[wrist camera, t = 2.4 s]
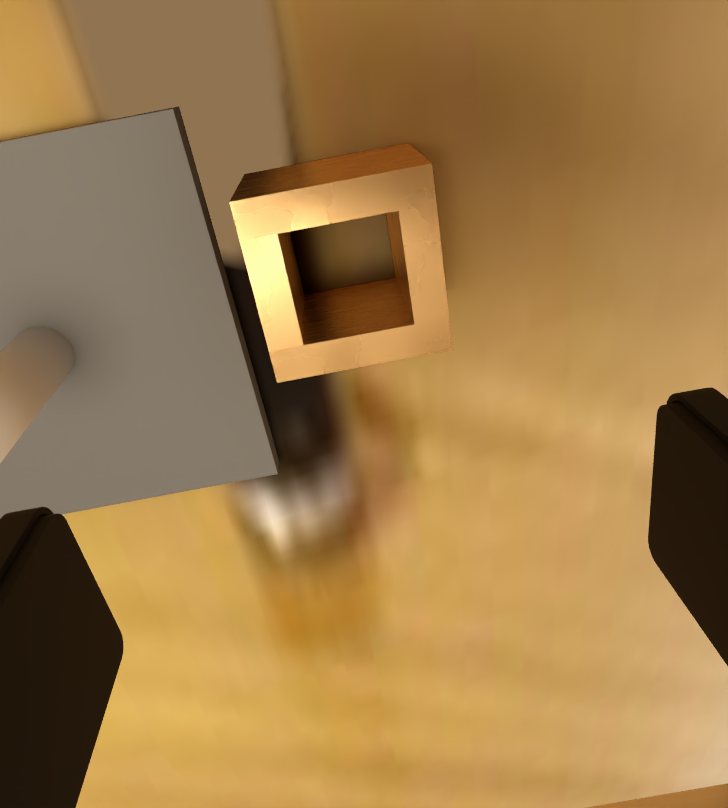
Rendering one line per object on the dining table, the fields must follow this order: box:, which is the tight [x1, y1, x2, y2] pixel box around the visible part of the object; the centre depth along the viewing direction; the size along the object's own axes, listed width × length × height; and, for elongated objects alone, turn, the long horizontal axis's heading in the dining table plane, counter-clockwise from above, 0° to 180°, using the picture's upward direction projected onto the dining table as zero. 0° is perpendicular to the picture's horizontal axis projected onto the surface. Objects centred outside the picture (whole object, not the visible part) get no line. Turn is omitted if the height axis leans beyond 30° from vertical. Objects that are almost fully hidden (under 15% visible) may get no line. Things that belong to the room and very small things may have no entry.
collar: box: [229, 143, 453, 383], centre depth 24 cm, size 6×6×6 cm
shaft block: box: [0, 107, 279, 519], centre depth 23 cm, size 16×16×10 cm
